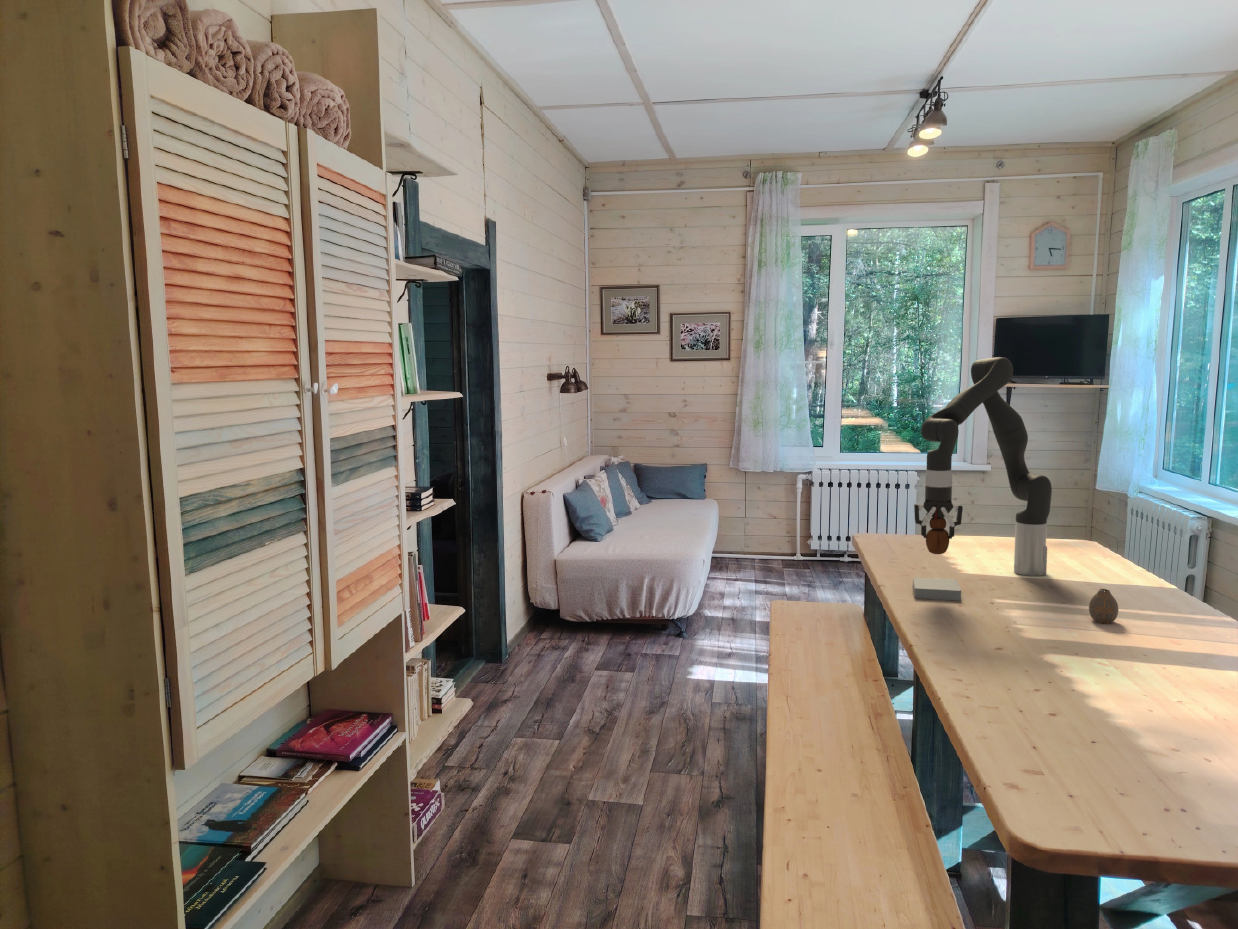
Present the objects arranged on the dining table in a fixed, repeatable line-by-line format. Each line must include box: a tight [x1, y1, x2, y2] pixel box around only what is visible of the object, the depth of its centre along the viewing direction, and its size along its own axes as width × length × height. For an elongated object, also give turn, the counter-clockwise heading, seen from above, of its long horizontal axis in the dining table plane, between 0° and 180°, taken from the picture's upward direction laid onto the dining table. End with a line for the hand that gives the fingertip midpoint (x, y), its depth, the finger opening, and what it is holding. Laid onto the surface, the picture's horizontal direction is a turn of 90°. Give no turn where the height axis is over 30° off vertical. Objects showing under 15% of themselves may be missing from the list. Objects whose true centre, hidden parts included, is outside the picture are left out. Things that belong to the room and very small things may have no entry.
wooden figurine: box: [925, 506, 950, 555], centre depth 247 cm, size 7×6×15 cm
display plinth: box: [912, 576, 962, 602], centre depth 249 cm, size 13×13×3 cm
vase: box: [1088, 588, 1120, 624], centre depth 219 cm, size 7×7×9 cm
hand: (937, 537), depth 247 cm, fingers closed on wooden figurine, 6 cm apart
